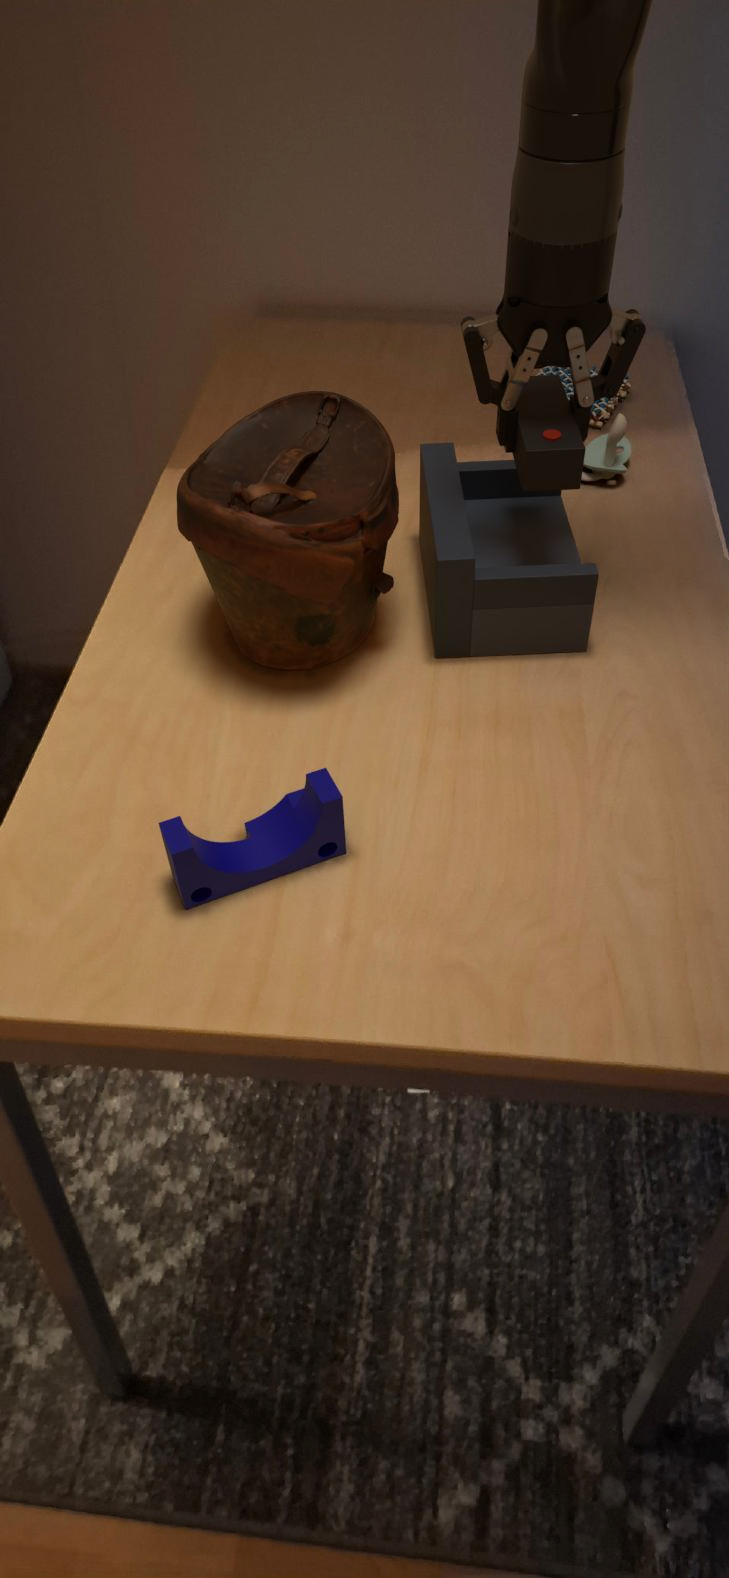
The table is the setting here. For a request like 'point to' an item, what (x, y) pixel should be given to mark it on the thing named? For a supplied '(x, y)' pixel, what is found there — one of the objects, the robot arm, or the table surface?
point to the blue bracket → (259, 844)
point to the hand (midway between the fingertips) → (539, 445)
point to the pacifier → (608, 452)
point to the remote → (547, 438)
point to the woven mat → (601, 405)
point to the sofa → (498, 561)
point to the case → (295, 526)
